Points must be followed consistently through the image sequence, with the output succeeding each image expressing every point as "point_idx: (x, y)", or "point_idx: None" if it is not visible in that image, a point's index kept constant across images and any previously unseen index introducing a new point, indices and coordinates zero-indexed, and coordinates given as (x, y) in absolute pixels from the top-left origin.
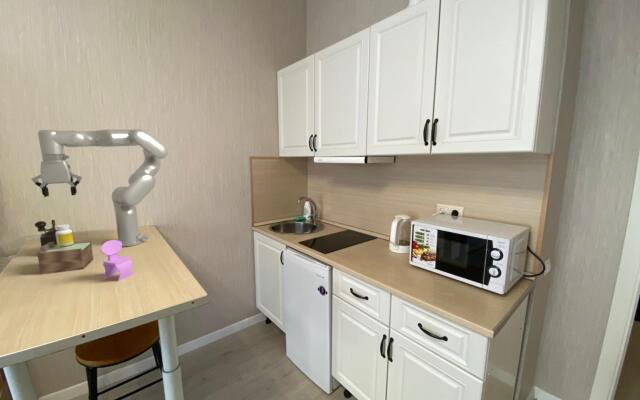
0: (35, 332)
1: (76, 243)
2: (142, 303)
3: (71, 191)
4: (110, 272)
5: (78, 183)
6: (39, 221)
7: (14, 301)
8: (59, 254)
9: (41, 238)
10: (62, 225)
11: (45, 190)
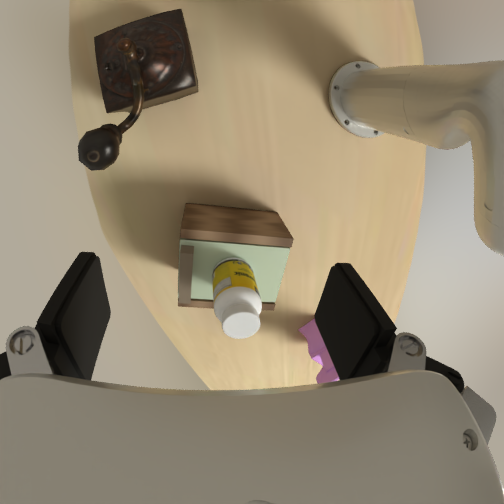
0: None
1: (253, 243)
2: None
3: (330, 348)
4: (311, 328)
5: (436, 369)
6: (89, 150)
7: (193, 358)
8: None
9: (110, 111)
10: (239, 325)
11: (92, 358)
